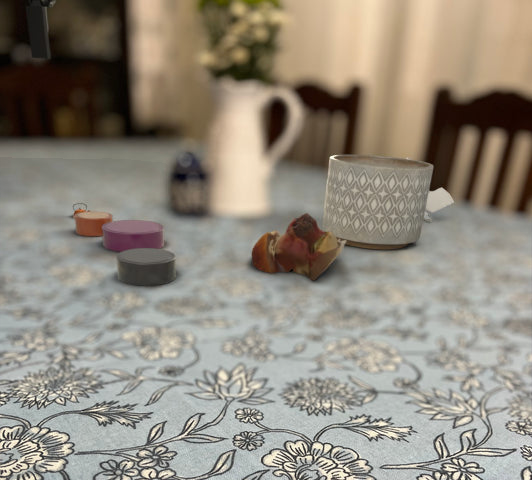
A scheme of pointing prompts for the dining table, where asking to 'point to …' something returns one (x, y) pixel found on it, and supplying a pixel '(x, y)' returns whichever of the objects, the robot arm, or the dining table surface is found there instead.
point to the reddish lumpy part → (297, 249)
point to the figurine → (437, 200)
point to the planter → (376, 200)
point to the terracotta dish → (91, 222)
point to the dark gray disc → (146, 266)
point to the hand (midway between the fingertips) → (9, 54)
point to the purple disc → (132, 235)
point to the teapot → (80, 209)
